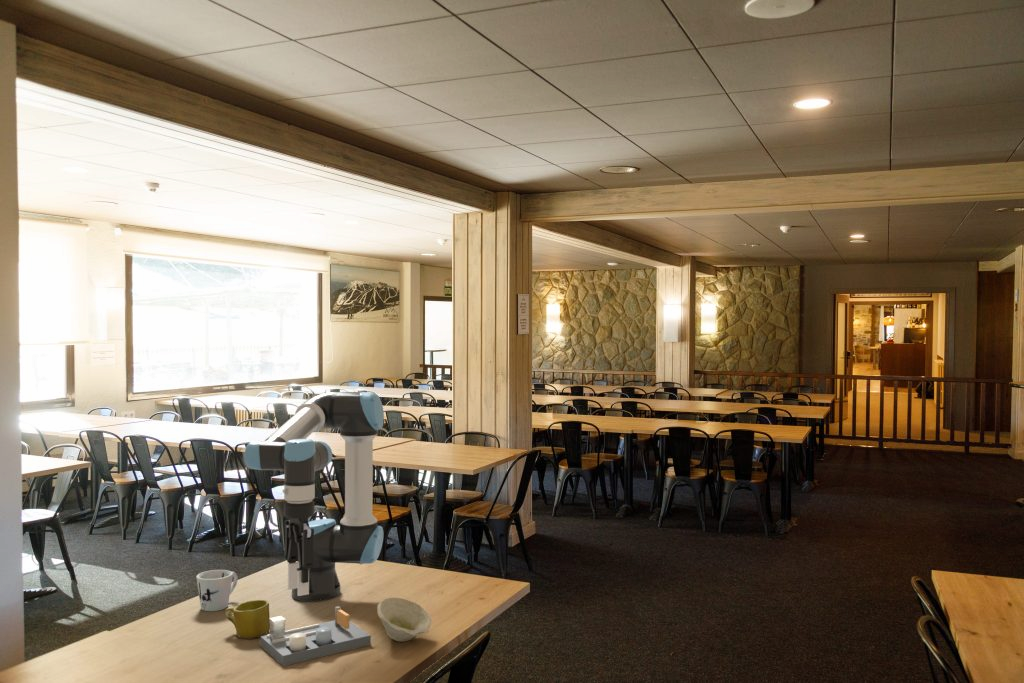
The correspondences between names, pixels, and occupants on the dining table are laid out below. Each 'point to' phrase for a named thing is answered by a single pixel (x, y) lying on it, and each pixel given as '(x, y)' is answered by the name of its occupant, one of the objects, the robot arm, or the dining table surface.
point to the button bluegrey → (323, 636)
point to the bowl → (403, 618)
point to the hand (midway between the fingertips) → (298, 591)
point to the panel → (340, 642)
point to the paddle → (341, 618)
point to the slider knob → (277, 627)
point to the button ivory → (297, 642)
